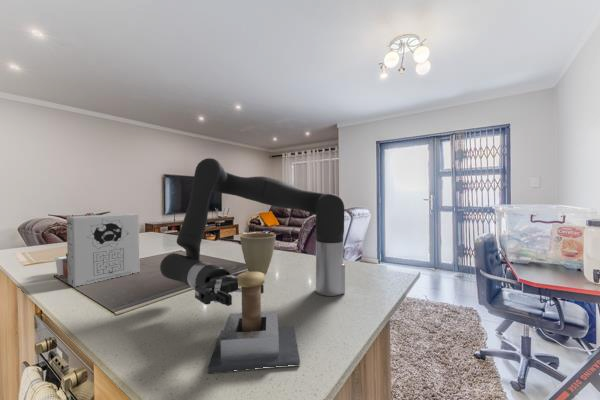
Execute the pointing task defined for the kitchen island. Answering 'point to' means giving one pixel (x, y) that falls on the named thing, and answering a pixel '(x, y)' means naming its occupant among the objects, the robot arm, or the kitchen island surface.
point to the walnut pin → (251, 300)
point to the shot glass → (60, 265)
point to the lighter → (65, 267)
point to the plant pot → (258, 251)
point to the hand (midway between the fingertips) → (247, 294)
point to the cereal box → (102, 247)
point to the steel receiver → (254, 345)
